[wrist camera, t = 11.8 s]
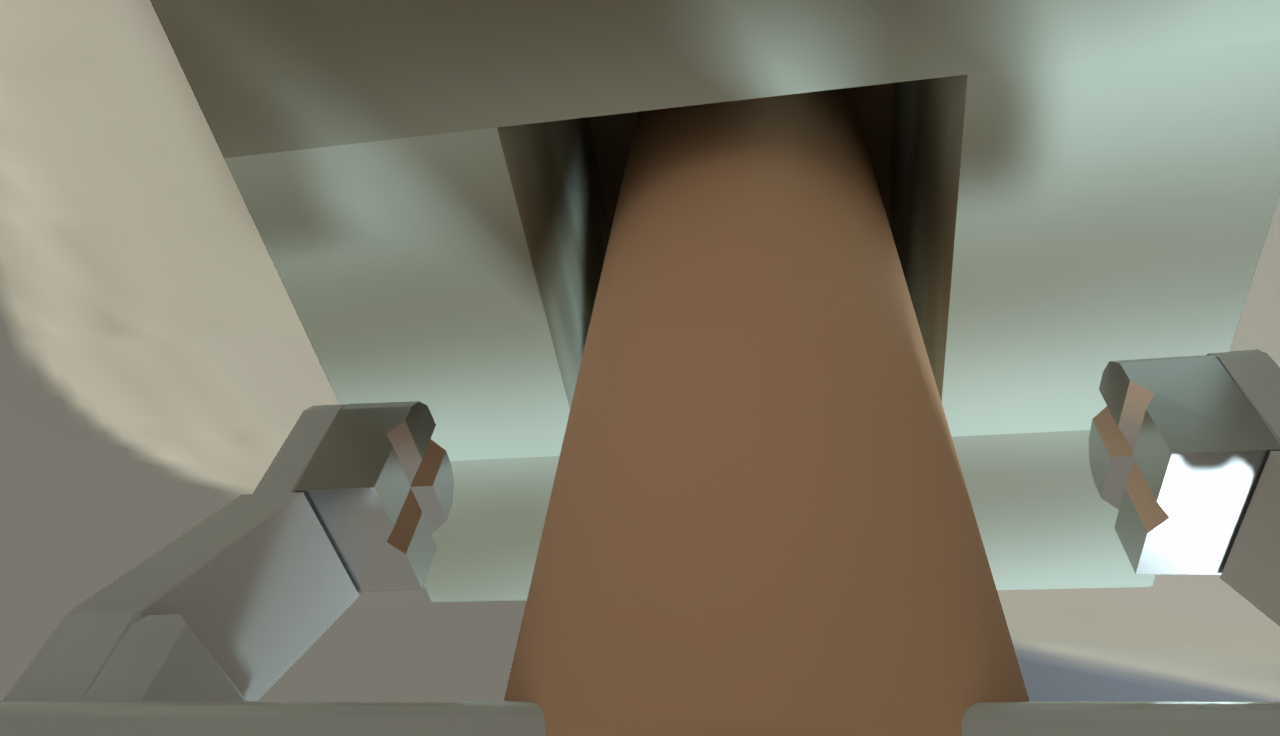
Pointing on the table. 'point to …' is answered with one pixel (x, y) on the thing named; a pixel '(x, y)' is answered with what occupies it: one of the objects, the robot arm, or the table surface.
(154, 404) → the table surface
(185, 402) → the table surface
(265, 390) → the table surface
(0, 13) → the table surface
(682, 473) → the peg
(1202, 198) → the socket board
